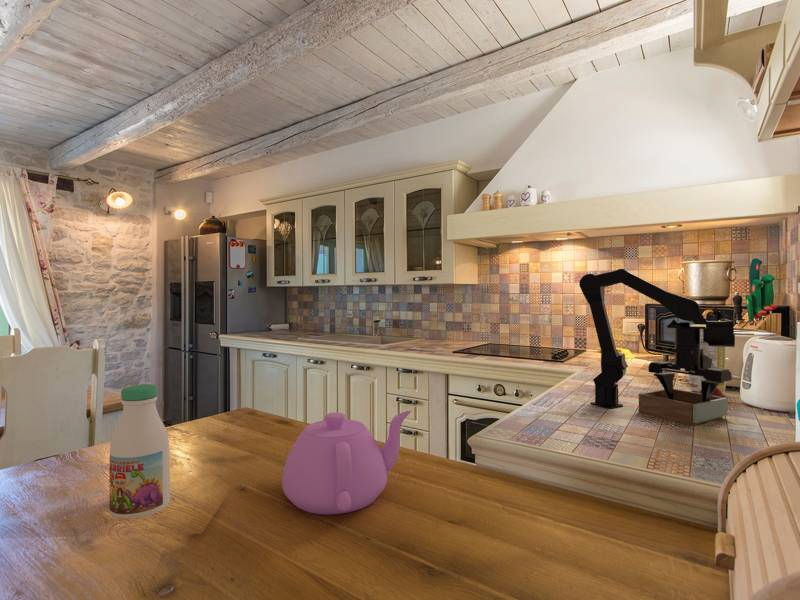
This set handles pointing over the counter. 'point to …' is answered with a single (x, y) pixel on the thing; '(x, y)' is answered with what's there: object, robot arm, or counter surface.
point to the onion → (715, 392)
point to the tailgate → (709, 410)
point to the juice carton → (717, 362)
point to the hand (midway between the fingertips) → (687, 402)
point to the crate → (672, 405)
